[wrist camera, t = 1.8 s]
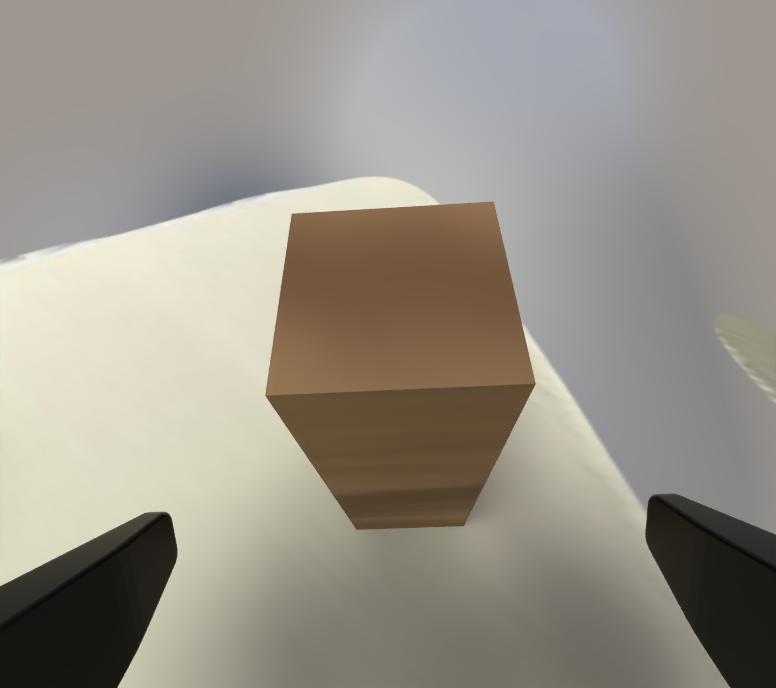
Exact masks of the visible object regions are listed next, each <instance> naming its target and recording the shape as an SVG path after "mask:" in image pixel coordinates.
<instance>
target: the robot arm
mask: <svg viewBox="0 0 776 688" xmlns="http://www.w3.org/2000/svg"><path fill="white" fill-rule="evenodd" d="M645 535H646V542H647V545H648V547H649V550H650V551H651V553H652V555H653V557H654V559H655V561H656V563H657V565H658V566H659V568H660V570H661V572H662V574H663V576H664V578H665V579H666V581H667V583H668V585H669V587H670V589H671V591H672V593H673V594H674V596H675V598H676V600H677V602H678V604H679V606H680V607H681V609H682V611H683V613H684V615H685V617H686V619H687V620H688V622H689V624H690V626H691V627H692V629H693V631H694V633H695V634H696V636H697V637H698V639H699V640H700V642H701V644H702V645H703V647H704V648H705V650H706V651H707V653H708V654H709V656H710V658H711V659H712V661H713V662H714V664H715V665H716V667H717V668H718V670H719V671H720V673H721V674H722V676H723V677H724V679H725V680H726V682H727V683H728V685H729V686H730V688H776V535H775V534H773V533H770V532H768V531H765V530H763V529H760V528H758V527H756V526H753V525H751V524H748V523H746V522H743V521H741V520H738V519H736V518H734V517H731V516H729V515H726V514H724V513H721V512H719V511H717V510H714V509H712V508H709V507H707V506H704V505H702V504H700V503H697V502H695V501H692V500H690V499H687V498H685V497H682V496H680V495H677V494H654V495H652V496H651V497H650V499H649V501H648V509H647V520H646V532H645ZM176 559H177V544H176V538H175V533H174V528H173V523H172V519H171V516H170V514H168V513H167V512H148V513H144V514H142V515H140V516H138V517H136V518H134V519H132V520H130V521H128V522H126V523H124V524H122V525H120V526H118V527H116V528H114V529H112V530H110V531H108V532H106V533H104V534H102V535H100V536H98V537H96V538H94V539H93V540H91V541H89V542H87V543H85V544H83V545H81V546H79V547H77V548H75V549H73V550H71V551H69V552H67V553H65V554H63V555H61V556H59V557H57V558H55V559H53V560H51V561H49V562H47V563H45V564H43V565H41V566H39V567H37V568H35V569H33V570H31V571H29V572H27V573H25V574H23V575H21V576H19V577H17V578H16V579H14V580H12V581H10V582H8V583H6V584H4V585H2V586H0V688H117V687H118V685H119V684H120V682H121V680H122V678H123V676H124V674H125V672H126V671H127V669H128V667H129V665H130V663H131V661H132V659H133V657H134V656H135V654H136V652H137V650H138V648H139V646H140V644H141V641H142V639H143V637H144V635H145V633H146V631H147V628H148V626H149V624H150V621H151V619H152V617H153V614H154V612H155V610H156V607H157V605H158V603H159V600H160V598H161V596H162V593H163V591H164V589H165V586H166V584H167V582H168V579H169V577H170V575H171V572H172V570H173V568H174V566H175V563H176Z"/></svg>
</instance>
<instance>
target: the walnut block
mask: <svg viewBox="0 0 776 688" xmlns="http://www.w3.org/2000/svg"><path fill="white" fill-rule="evenodd" d="M535 384H536V383H535V379H534V375H533V370H532V366H531V362H530V357H529V353H528V349H527V344H526V340H525V336H524V331H523V327H522V323H521V318H520V314H519V310H518V306H517V301H516V297H515V292H514V288H513V283H512V279H511V275H510V270H509V266H508V262H507V258H506V253H505V249H504V245H503V240H502V236H501V232H500V227H499V223H498V219H497V214H496V210H495V206H494V202H480V203H466V204H465V203H464V204H448V205H430V206H413V207H397V208H380V209H363V210H347V211H330V212H313V213H297V214H292V216H291V223H290V230H289V237H288V243H287V250H286V257H285V264H284V271H283V278H282V285H281V292H280V298H279V305H278V312H277V319H276V326H275V333H274V340H273V347H272V353H271V360H270V367H269V374H268V381H267V388H266V395H265V396H266V397H267V399H268V400H269V402H270V403H271V405H272V406H273V408H274V409H275V411H276V412H277V413H278V415H279V416H280V418H281V419H282V421H283V422H284V424H285V425H286V427H287V428H288V430H289V431H290V433H291V434H292V435H293V437H294V438H295V440H296V441H297V443H298V444H299V446H300V447H301V449H302V450H303V452H304V453H305V455H306V456H307V457H308V459H309V460H310V462H311V463H312V465H313V466H314V468H315V469H316V471H317V472H318V474H319V475H320V477H321V478H322V479H323V481H324V482H325V484H326V485H327V487H328V488H329V490H330V491H331V493H332V494H333V496H334V497H335V499H336V500H337V501H338V503H339V504H340V506H341V507H342V509H343V510H344V512H345V513H346V515H347V516H348V518H349V519H350V521H351V522H352V523H353V525H354V526H355V528H356V529H385V528H416V527H446V526H464V524H465V522H466V520H467V518H468V516H469V514H470V512H471V510H472V508H473V506H474V504H475V502H476V500H477V498H478V496H479V494H480V492H481V490H482V488H483V487H484V485H485V483H486V481H487V479H488V477H489V475H490V473H491V471H492V469H493V467H494V465H495V463H496V461H497V459H498V457H499V455H500V453H501V451H502V449H503V447H504V445H505V443H506V441H507V439H508V437H509V435H510V433H511V431H512V429H513V427H514V425H515V423H516V421H517V419H518V417H519V415H520V413H521V411H522V409H523V407H524V405H525V404H526V402H527V400H528V398H529V396H530V394H531V392H532V390H533V388H534V386H535Z"/></svg>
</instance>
